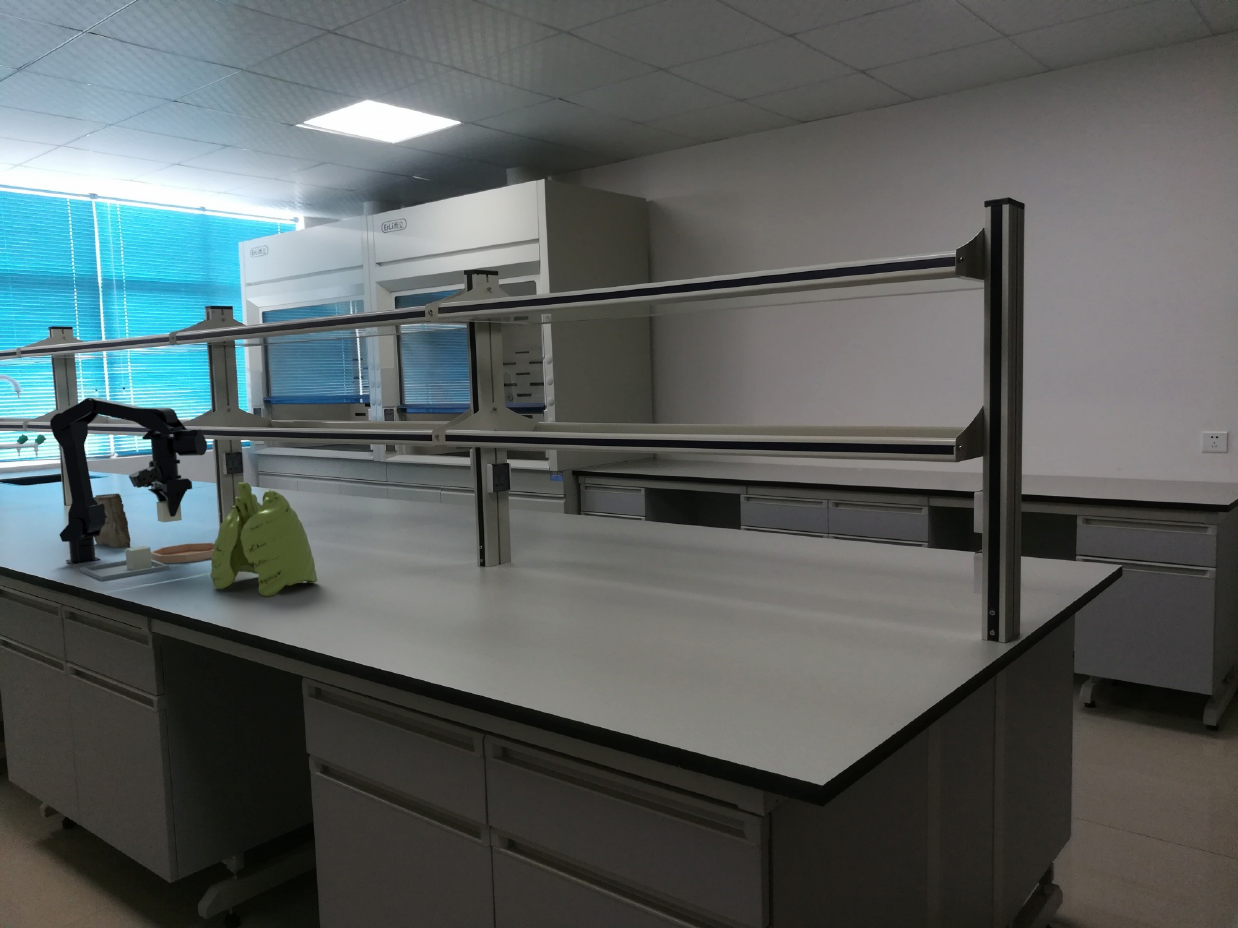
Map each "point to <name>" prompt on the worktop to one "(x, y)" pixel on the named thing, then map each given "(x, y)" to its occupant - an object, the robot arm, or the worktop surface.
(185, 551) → the bowl
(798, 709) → the worktop surface
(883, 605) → the worktop surface
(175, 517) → the block
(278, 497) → the lungs
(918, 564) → the worktop surface
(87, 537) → the robot arm
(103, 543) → the mineral sample
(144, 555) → the block
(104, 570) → the parts tray
